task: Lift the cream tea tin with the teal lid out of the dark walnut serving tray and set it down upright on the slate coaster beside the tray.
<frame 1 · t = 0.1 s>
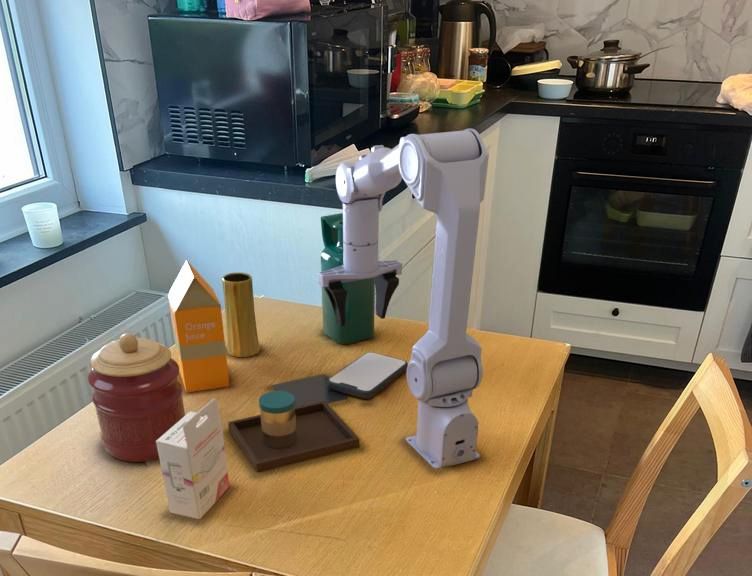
hand: (360, 320, 133), 10 cm above the table, tool pointing down, fingers open, 7 cm apart
tea tin: (279, 439, 119), resting on tray
ink cartridge box: (200, 502, 107), on the table
green glass bottle: (346, 334, 153), on the table
slate coaster: (309, 394, 132), on the table
kitchen canister: (147, 442, 120), on the table
tray: (293, 440, 120), on the table
orange juice: (204, 379, 137), on the table
vase: (243, 351, 146), on the table
phone case: (368, 379, 137), on the table, touching slate coaster
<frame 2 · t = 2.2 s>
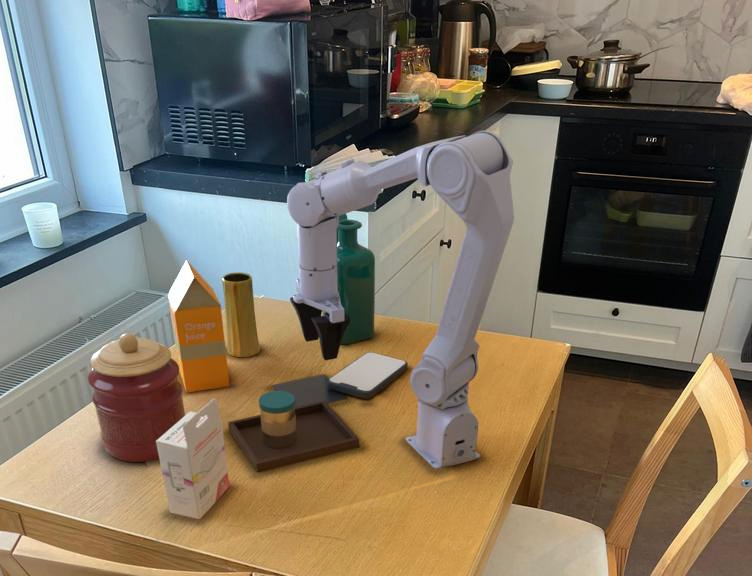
hand: (320, 349, 123), 10 cm above the table, tool pointing down, fingers open, 7 cm apart
nothing on the table moved.
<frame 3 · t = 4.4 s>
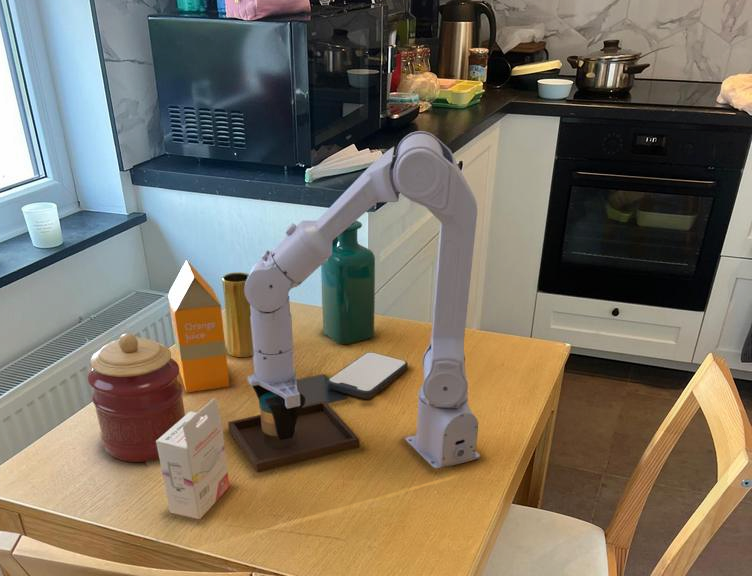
hand: (279, 428, 118), 2 cm above the table, tool pointing down, fingers closed on tea tin, 5 cm apart
tea tin: (279, 439, 119), point 1 cm above the table, touching gripper, tray
everything else where it was.
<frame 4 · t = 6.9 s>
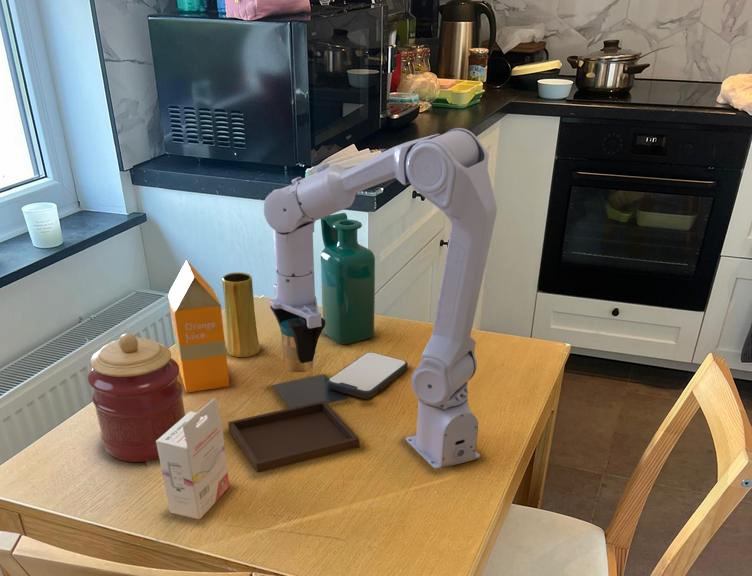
hand: (299, 354, 123), 9 cm above the table, tool pointing down, fingers closed on tea tin, 5 cm apart
tea tin: (299, 365, 124), point 8 cm above the table, touching gripper
everything else where it was.
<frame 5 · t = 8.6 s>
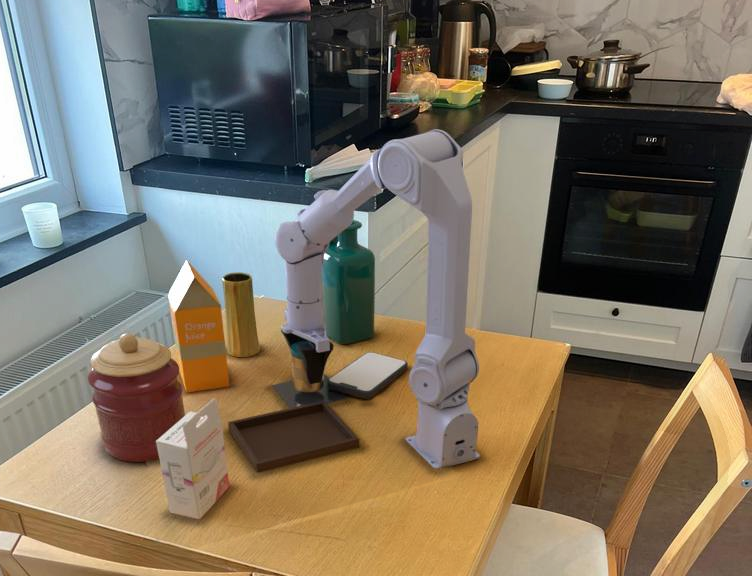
hand: (308, 375, 130), 4 cm above the table, tool pointing down, fingers closed on tea tin, 5 cm apart
tea tin: (308, 385, 131), point 2 cm above the table, touching gripper
everything else where it was.
when the fingers open (2 cm above the table, at t = 9.5 s): tea tin stays where it is, resting on slate coaster.
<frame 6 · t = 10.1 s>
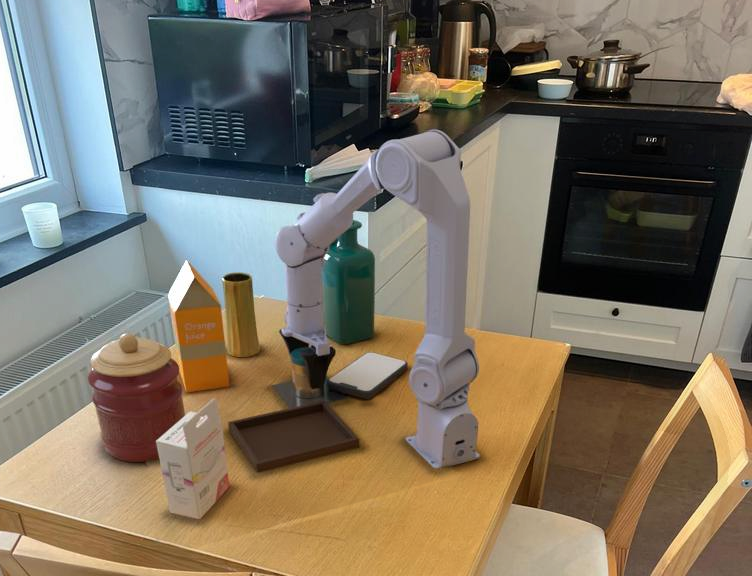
hand: (308, 378, 130), 3 cm above the table, tool pointing down, fingers open, 7 cm apart
tea tin: (308, 391, 132), point 1 cm above the table, touching slate coaster
everything else where it was.
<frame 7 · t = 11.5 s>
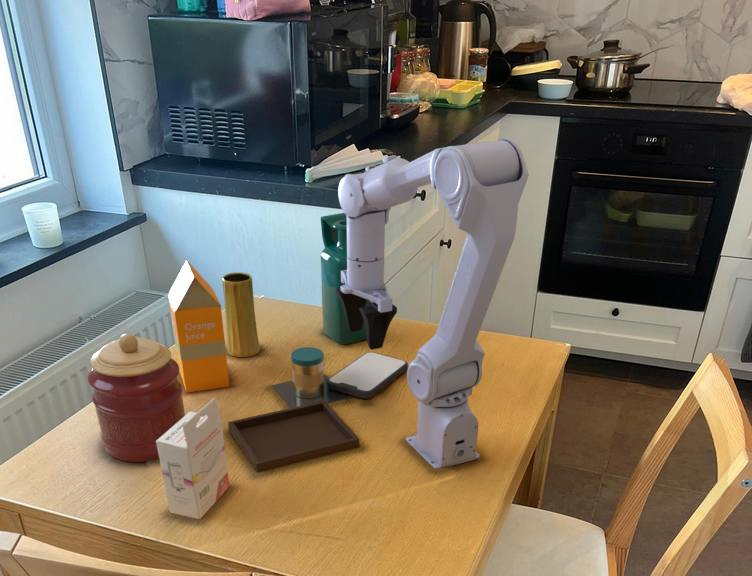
hand: (365, 339, 126), 10 cm above the table, tool pointing down, fingers open, 7 cm apart
nothing on the table moved.
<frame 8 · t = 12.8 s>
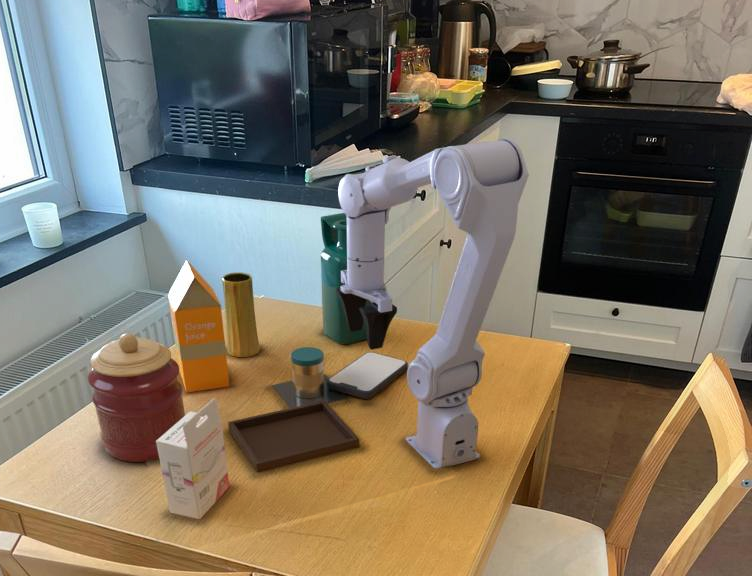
hand: (365, 339, 126), 10 cm above the table, tool pointing down, fingers open, 7 cm apart
nothing on the table moved.
at the end: tea tin 0.0 cm off-centre on the slate coaster, point 0.6 cm above the slate coaster's base; tea tin tilted 0°; tea tin touching slate coaster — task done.
